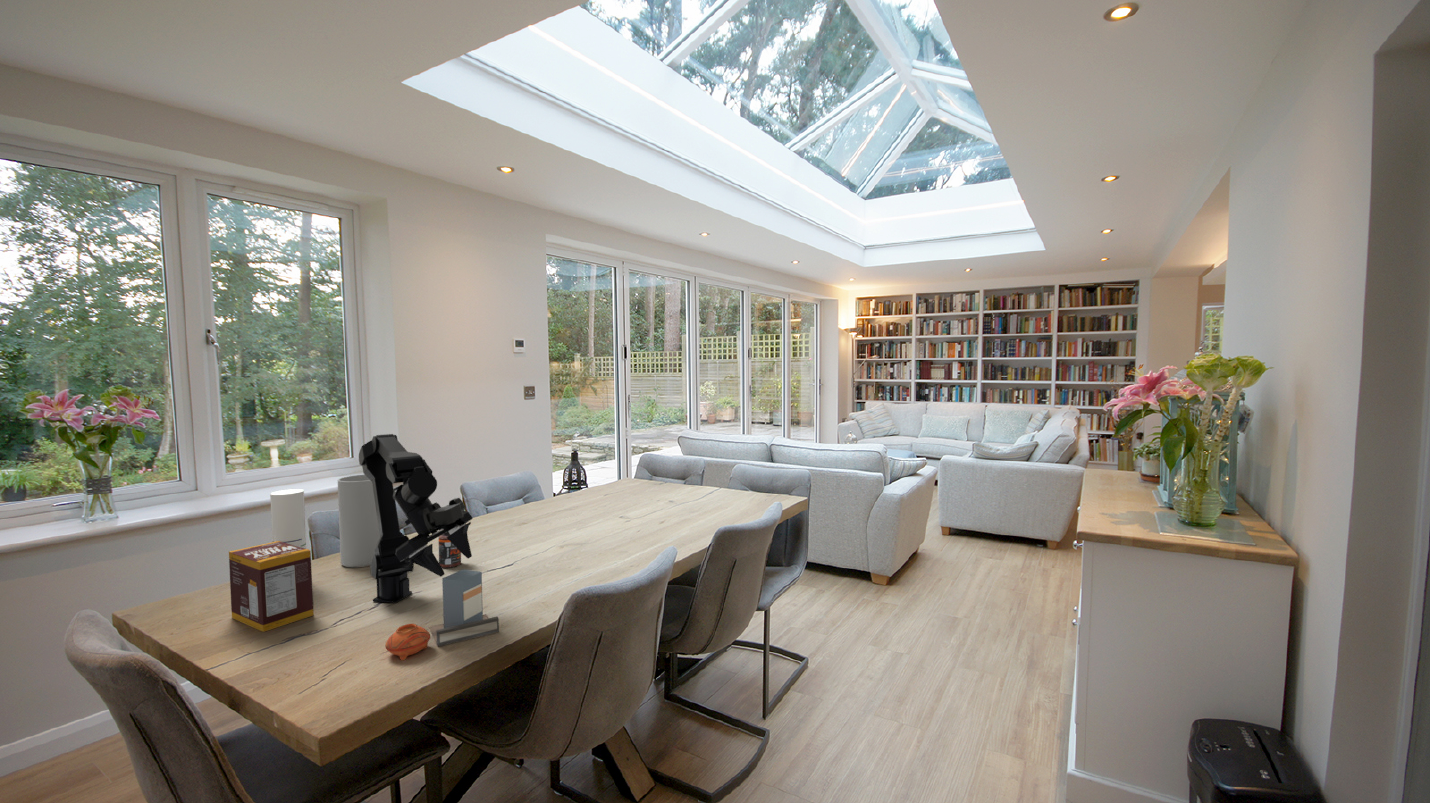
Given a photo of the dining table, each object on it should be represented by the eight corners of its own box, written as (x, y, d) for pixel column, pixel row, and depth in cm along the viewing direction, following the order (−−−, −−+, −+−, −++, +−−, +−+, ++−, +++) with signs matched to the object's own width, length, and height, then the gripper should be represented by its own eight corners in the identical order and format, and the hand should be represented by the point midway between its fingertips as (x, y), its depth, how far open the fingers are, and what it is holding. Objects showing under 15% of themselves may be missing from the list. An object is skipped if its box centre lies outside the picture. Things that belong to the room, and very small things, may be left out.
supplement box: (281, 602, 146) (278, 539, 146) (314, 615, 139) (311, 549, 138) (230, 617, 137) (227, 551, 137) (262, 632, 130) (259, 561, 129)
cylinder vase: (374, 568, 171) (371, 481, 170) (330, 568, 171) (327, 481, 170) (397, 554, 184) (395, 474, 182) (357, 554, 184) (354, 474, 182)
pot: (429, 661, 116) (419, 630, 115) (386, 675, 114) (376, 643, 113) (438, 642, 124) (429, 612, 123) (399, 654, 122) (389, 624, 121)
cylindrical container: (268, 588, 155) (263, 493, 154) (296, 579, 162) (292, 488, 161) (286, 592, 153) (281, 495, 151) (314, 583, 159) (310, 490, 158)
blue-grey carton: (443, 633, 126) (442, 578, 126) (464, 622, 132) (463, 569, 131) (463, 637, 125) (462, 581, 124) (483, 625, 130) (482, 571, 130)
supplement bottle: (452, 569, 170) (451, 529, 170) (434, 567, 172) (433, 528, 171) (465, 562, 176) (464, 524, 176) (447, 561, 177) (446, 523, 177)
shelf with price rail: (428, 631, 130) (428, 613, 130) (486, 618, 137) (485, 601, 136) (438, 651, 121) (437, 632, 120) (499, 636, 127) (498, 618, 127)
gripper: (410, 505, 122) (452, 568, 123) (469, 478, 140) (506, 533, 140) (376, 530, 126) (417, 591, 126) (438, 500, 144) (474, 554, 144)
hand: (456, 566), depth 134 cm, fingers open, 9 cm apart
